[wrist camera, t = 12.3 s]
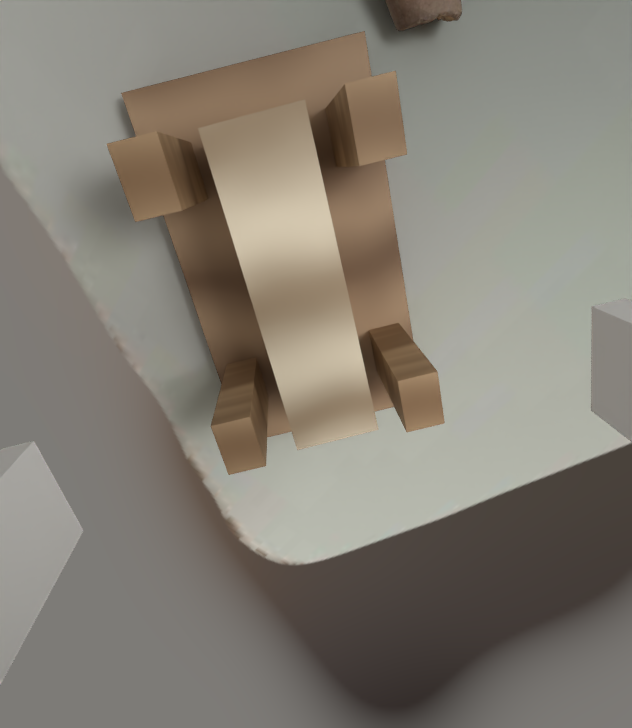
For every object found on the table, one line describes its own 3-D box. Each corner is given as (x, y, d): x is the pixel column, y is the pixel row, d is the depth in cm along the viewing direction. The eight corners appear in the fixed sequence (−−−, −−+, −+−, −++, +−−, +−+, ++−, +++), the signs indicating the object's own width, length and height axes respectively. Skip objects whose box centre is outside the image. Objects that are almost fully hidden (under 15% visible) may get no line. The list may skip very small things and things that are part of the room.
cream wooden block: (217, 138, 26) (197, 128, 19) (297, 117, 25) (304, 99, 19) (293, 393, 32) (297, 450, 25) (357, 376, 32) (378, 429, 25)
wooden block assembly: (129, 97, 26) (53, 59, 17) (359, 38, 26) (402, -30, 17) (243, 432, 34) (231, 522, 26) (416, 390, 34) (464, 466, 25)
